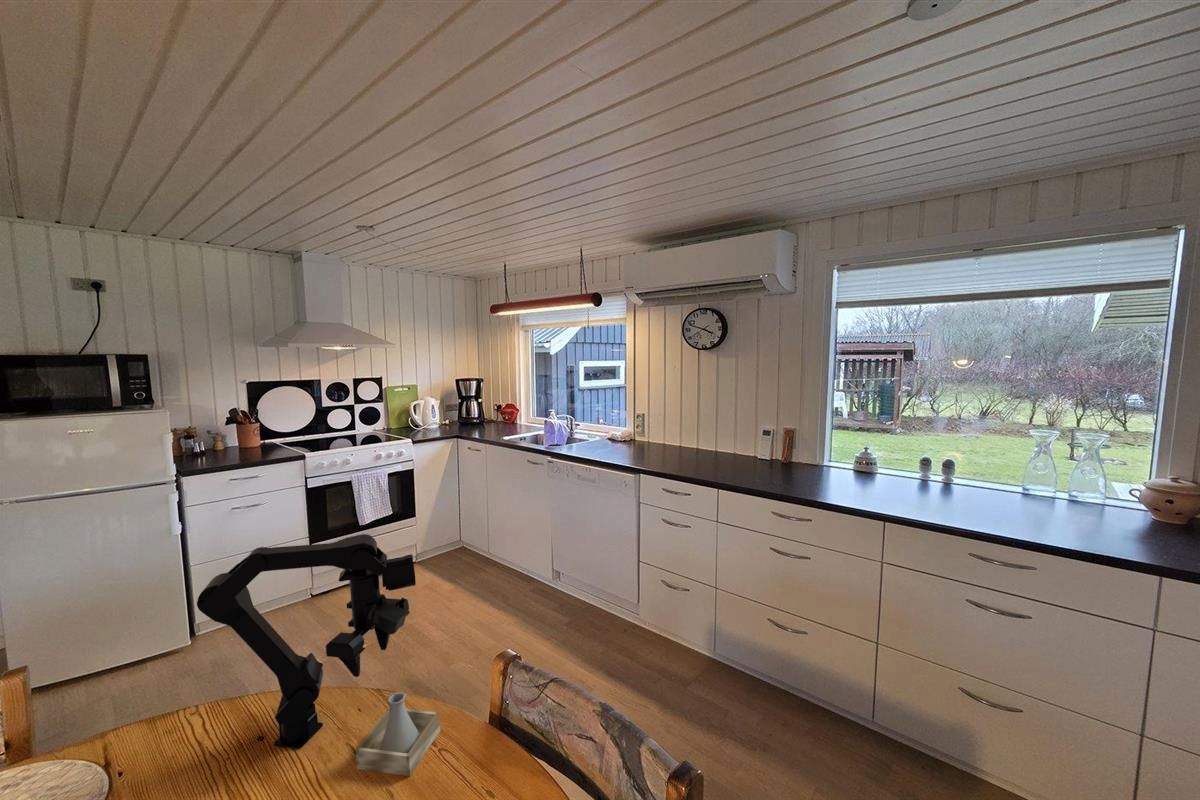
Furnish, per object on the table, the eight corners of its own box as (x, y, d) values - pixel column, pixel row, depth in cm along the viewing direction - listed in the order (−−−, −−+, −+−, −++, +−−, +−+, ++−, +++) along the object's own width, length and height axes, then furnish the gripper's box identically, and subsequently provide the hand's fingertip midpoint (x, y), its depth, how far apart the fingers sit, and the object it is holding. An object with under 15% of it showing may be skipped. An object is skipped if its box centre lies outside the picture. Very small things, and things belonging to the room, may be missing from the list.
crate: (357, 768, 92) (355, 749, 91) (392, 724, 103) (390, 707, 102) (410, 776, 90) (408, 756, 89) (440, 730, 101) (439, 712, 100)
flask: (404, 761, 92) (401, 713, 91) (372, 756, 93) (368, 708, 93) (426, 732, 99) (423, 687, 98) (395, 727, 100) (392, 683, 100)
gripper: (371, 620, 93) (377, 695, 94) (422, 576, 111) (427, 640, 113) (320, 616, 95) (327, 690, 96) (379, 574, 113) (384, 636, 115)
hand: (370, 662), depth 105 cm, fingers open, 9 cm apart
